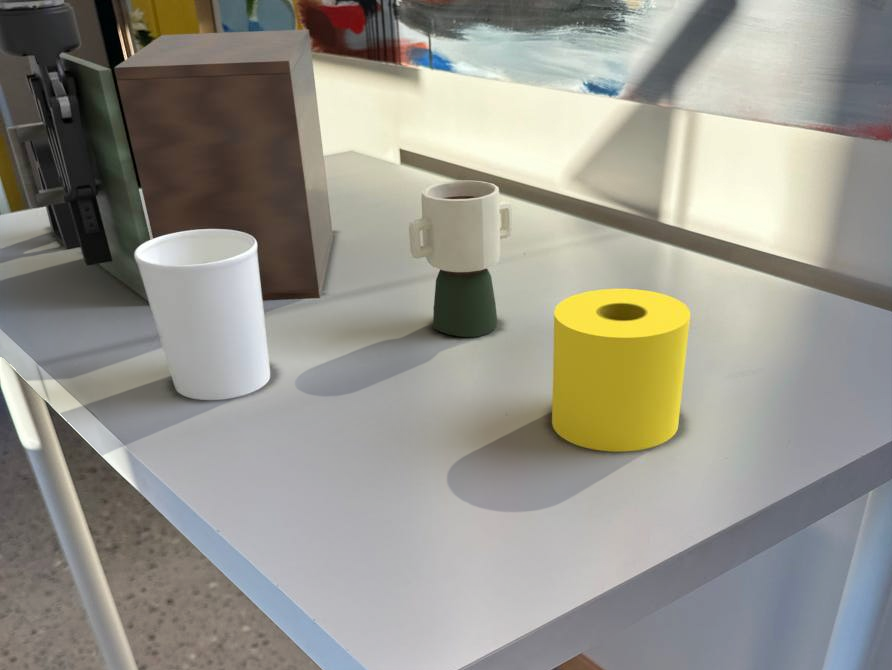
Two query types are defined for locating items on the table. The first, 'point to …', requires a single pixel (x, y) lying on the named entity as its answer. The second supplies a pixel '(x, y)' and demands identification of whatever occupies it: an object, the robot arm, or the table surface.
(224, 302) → the white cup
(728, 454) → the table surface
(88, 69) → the cupboard door
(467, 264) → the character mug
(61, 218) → the phone stand
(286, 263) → the cupboard
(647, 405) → the yellow toilet paper roll
